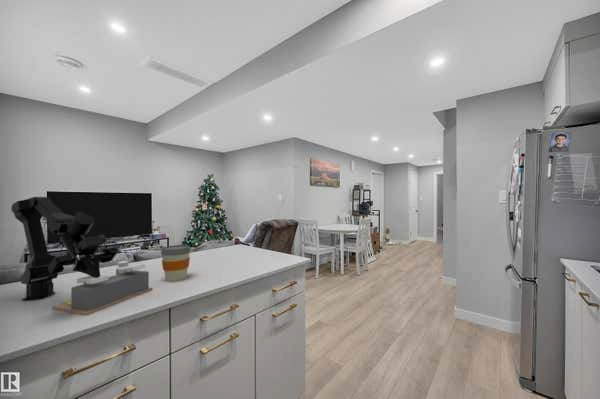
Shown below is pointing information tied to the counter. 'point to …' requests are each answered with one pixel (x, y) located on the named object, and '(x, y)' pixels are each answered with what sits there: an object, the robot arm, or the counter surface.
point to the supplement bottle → (122, 266)
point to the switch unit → (106, 293)
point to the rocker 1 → (92, 279)
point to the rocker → (131, 268)
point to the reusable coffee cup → (175, 262)
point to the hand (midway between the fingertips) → (98, 276)
